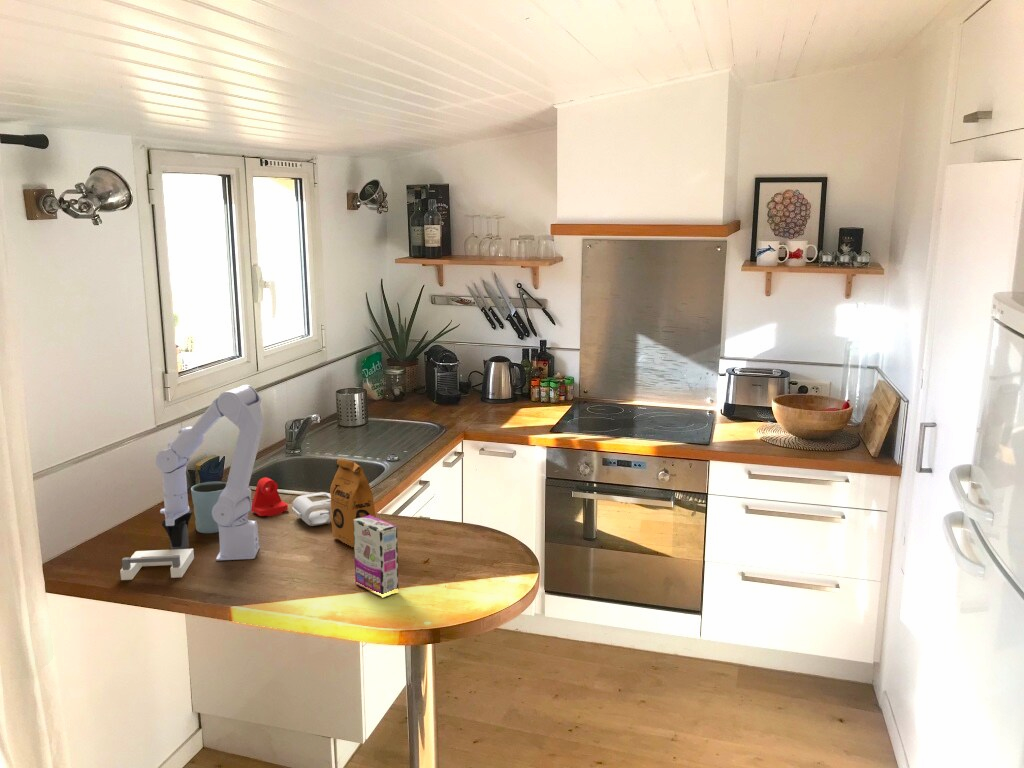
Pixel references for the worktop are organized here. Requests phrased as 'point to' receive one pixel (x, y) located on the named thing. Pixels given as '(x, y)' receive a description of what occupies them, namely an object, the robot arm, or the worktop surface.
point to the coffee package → (349, 500)
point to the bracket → (267, 499)
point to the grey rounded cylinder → (183, 540)
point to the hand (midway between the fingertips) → (179, 542)
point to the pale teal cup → (206, 505)
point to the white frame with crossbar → (157, 561)
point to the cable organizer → (306, 506)
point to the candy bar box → (376, 554)
